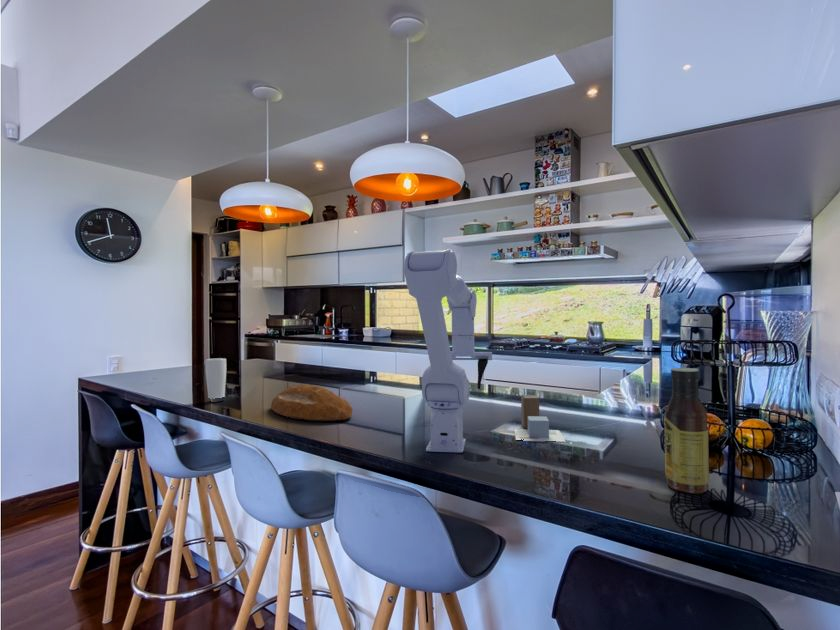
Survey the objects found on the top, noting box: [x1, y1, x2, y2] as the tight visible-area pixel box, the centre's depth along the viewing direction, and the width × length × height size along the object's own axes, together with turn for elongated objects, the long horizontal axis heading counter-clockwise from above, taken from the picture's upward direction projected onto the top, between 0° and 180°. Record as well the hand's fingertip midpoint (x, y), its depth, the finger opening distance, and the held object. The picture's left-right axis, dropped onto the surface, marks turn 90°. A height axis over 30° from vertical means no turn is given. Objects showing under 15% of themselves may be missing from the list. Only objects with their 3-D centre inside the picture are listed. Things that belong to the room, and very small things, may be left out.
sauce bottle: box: [663, 367, 710, 495], centre depth 75 cm, size 6×6×20 cm
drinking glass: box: [204, 357, 227, 399], centre depth 158 cm, size 7×7×15 cm
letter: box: [513, 428, 566, 443], centre depth 108 cm, size 10×11×1 cm
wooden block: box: [520, 394, 540, 430], centre depth 116 cm, size 4×4×8 cm
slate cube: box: [527, 415, 550, 438], centre depth 108 cm, size 4×4×4 cm
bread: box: [270, 383, 353, 422], centre depth 137 cm, size 18×35×9 cm, turn 47°
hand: (464, 388), depth 115 cm, fingers open, 7 cm apart
